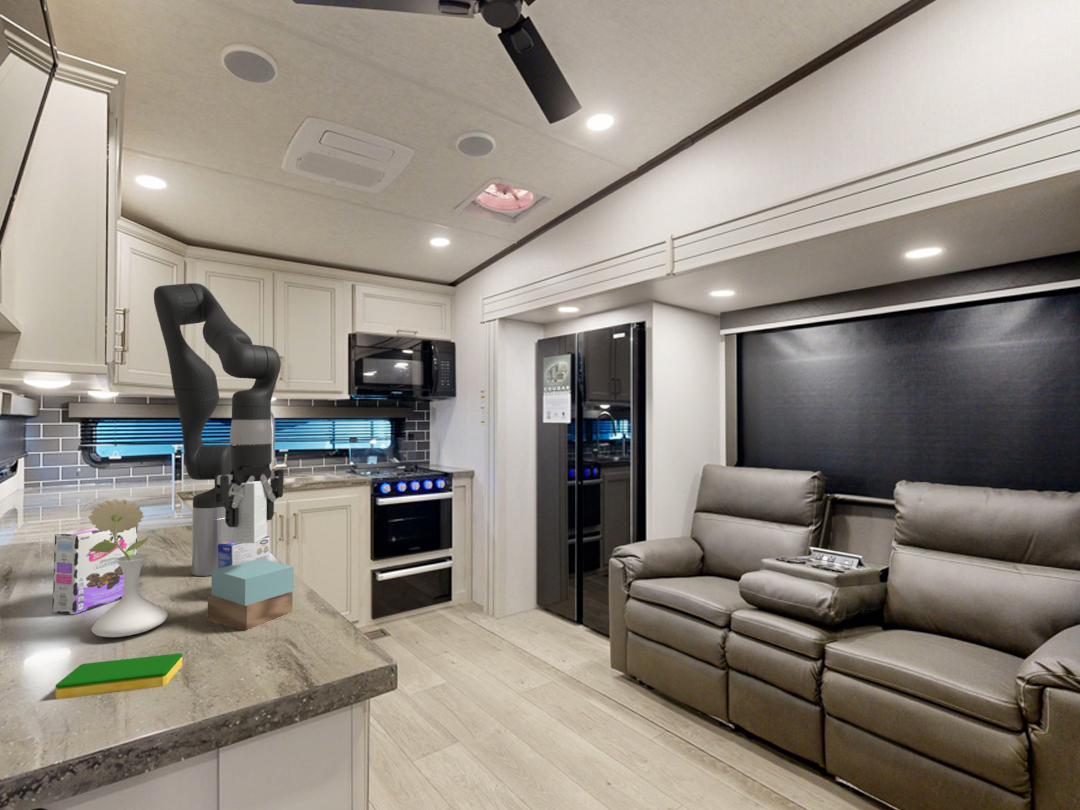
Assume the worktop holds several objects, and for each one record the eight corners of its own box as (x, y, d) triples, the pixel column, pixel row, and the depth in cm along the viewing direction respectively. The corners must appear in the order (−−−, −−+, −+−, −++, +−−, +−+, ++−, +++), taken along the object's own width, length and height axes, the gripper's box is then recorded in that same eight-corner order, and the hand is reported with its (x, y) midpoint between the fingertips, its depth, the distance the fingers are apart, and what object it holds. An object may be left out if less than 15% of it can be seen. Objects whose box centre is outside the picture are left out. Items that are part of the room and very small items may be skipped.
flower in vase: (179, 617, 107) (180, 493, 108) (147, 641, 96) (149, 502, 96) (106, 622, 105) (108, 495, 105) (65, 646, 94) (67, 504, 94)
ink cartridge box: (255, 584, 128) (256, 524, 129) (271, 587, 126) (272, 526, 126) (216, 597, 119) (216, 532, 120) (232, 600, 117) (233, 534, 117)
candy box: (74, 615, 108) (75, 534, 109) (51, 613, 110) (52, 533, 110) (137, 593, 122) (138, 521, 122) (116, 592, 123) (117, 520, 124)
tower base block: (253, 605, 115) (254, 582, 115) (292, 614, 109) (292, 590, 109) (207, 621, 106) (207, 596, 106) (246, 632, 100) (246, 605, 100)
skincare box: (246, 537, 111) (246, 479, 111) (267, 536, 111) (268, 479, 111) (231, 543, 105) (232, 482, 105) (254, 543, 105) (255, 482, 105)
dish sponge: (165, 688, 80) (165, 672, 80) (53, 702, 76) (54, 685, 76) (183, 667, 87) (183, 652, 87) (81, 678, 83) (81, 663, 83)
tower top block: (259, 581, 115) (260, 558, 115) (293, 591, 109) (293, 566, 109) (211, 595, 107) (211, 570, 107) (245, 605, 100) (245, 579, 101)
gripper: (269, 440, 116) (268, 516, 116) (204, 443, 103) (203, 528, 103) (293, 440, 113) (293, 518, 113) (230, 444, 100) (229, 531, 100)
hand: (250, 523), depth 108 cm, fingers closed on skincare box, 7 cm apart
